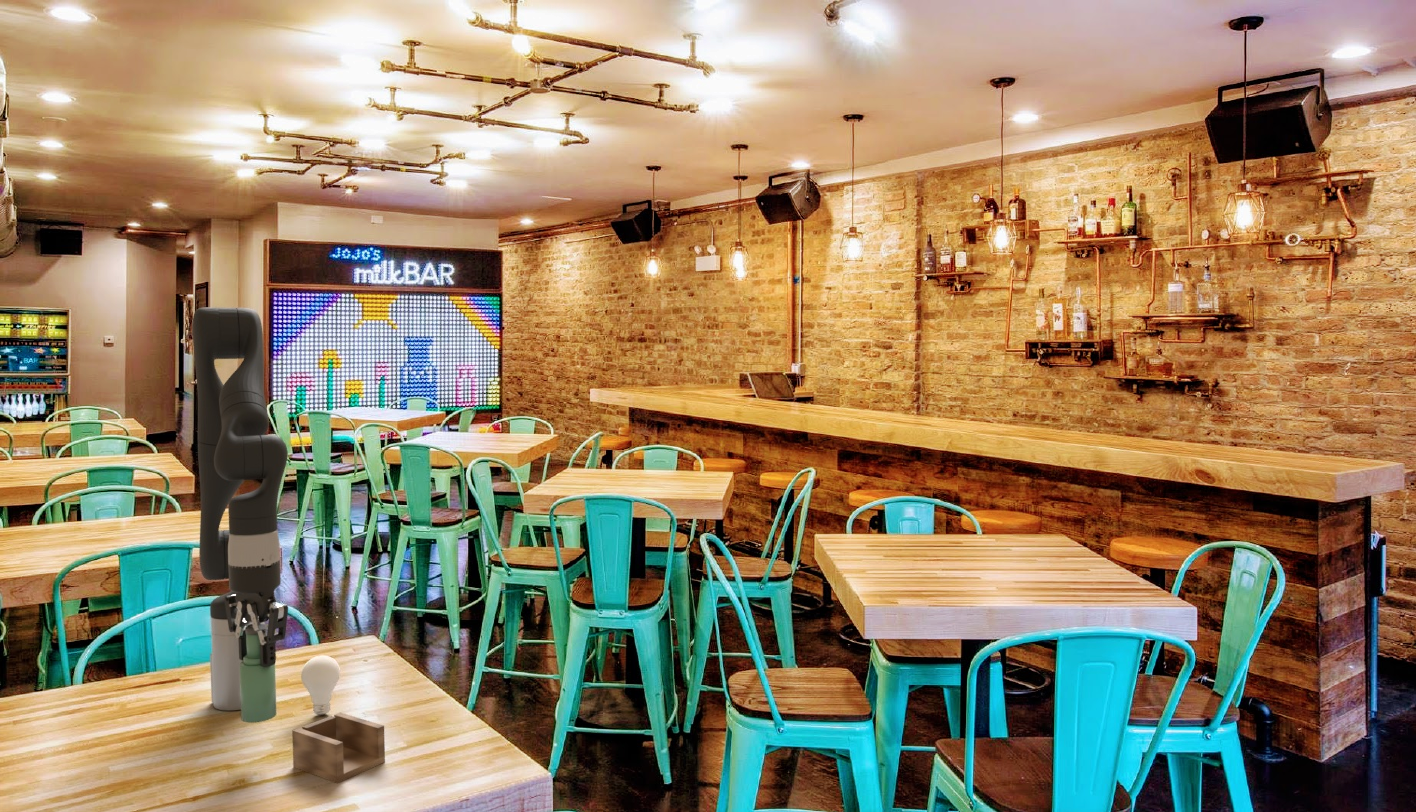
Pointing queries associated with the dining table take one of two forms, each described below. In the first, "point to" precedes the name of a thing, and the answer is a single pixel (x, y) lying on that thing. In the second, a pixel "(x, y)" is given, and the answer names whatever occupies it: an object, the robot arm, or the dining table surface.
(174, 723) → the dining table surface
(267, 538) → the robot arm
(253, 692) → the bottle
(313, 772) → the brown open-sided frame
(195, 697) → the dining table surface
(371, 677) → the dining table surface
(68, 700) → the dining table surface
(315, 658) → the light bulb
